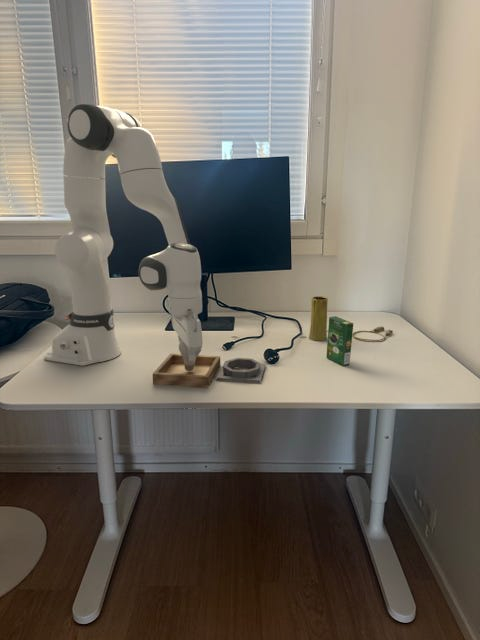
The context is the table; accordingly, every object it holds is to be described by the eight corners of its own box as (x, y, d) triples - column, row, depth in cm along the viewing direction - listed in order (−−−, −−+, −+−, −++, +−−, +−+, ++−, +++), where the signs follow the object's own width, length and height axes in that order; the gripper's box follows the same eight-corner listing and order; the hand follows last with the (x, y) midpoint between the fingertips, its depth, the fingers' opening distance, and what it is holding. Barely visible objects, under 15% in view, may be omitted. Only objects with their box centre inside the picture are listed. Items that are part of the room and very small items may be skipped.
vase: (319, 342, 148) (321, 301, 144) (305, 337, 152) (306, 297, 148) (330, 338, 152) (332, 298, 148) (316, 334, 156) (318, 295, 152)
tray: (153, 384, 116) (152, 373, 116) (171, 363, 131) (170, 353, 130) (208, 388, 114) (208, 377, 113) (220, 366, 128) (220, 356, 127)
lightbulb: (173, 372, 122) (174, 338, 116) (186, 361, 126) (187, 328, 121) (192, 379, 119) (193, 346, 114) (204, 368, 124) (206, 335, 119)
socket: (216, 380, 119) (216, 371, 118) (225, 363, 130) (225, 355, 129) (260, 383, 117) (260, 374, 116) (265, 366, 128) (265, 358, 127)
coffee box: (351, 365, 128) (354, 322, 125) (343, 367, 127) (346, 323, 123) (333, 356, 135) (335, 315, 132) (325, 358, 134) (328, 316, 130)
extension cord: (403, 341, 150) (403, 335, 149) (360, 344, 147) (361, 339, 146) (384, 330, 161) (385, 325, 161) (344, 333, 158) (345, 328, 158)
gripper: (207, 314, 108) (209, 366, 112) (187, 296, 127) (189, 341, 131) (182, 316, 106) (184, 369, 110) (166, 298, 125) (168, 344, 129)
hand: (187, 354), depth 121 cm, fingers open, 8 cm apart
